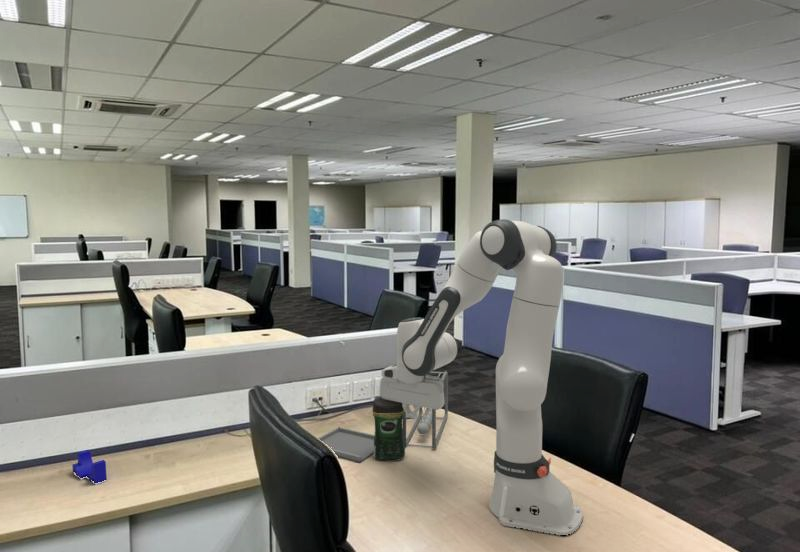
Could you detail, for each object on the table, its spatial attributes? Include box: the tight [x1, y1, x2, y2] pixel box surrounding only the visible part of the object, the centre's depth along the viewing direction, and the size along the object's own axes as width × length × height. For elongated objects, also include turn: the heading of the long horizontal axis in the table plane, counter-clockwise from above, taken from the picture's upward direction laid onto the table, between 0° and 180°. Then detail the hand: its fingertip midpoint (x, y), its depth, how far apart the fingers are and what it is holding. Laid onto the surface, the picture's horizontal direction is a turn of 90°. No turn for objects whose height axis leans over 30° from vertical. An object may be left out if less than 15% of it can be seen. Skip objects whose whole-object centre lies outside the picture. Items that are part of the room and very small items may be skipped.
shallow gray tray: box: [318, 426, 375, 464], centre depth 181 cm, size 20×16×2 cm
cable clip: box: [71, 449, 108, 483], centre depth 161 cm, size 12×4×6 cm, turn 49°
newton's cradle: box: [402, 370, 449, 450], centre depth 192 cm, size 30×10×18 cm, turn 168°
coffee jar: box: [372, 396, 406, 462], centre depth 173 cm, size 10×8×19 cm
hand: (411, 418), depth 168 cm, fingers closed
